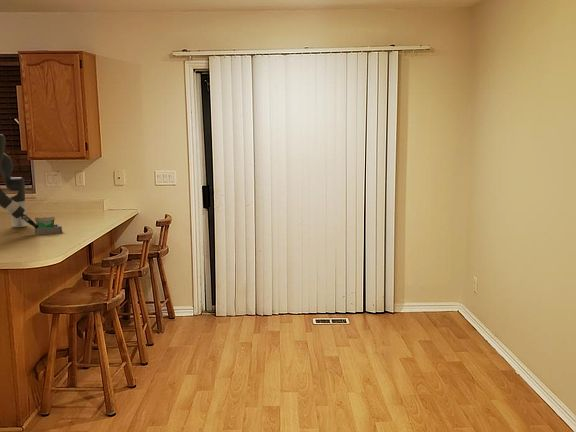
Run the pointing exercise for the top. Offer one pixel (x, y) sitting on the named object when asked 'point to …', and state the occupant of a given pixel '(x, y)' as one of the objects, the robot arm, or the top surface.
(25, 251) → the top surface
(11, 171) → the robot arm
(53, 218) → the food container
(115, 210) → the top surface
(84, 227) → the top surface
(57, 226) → the dock
